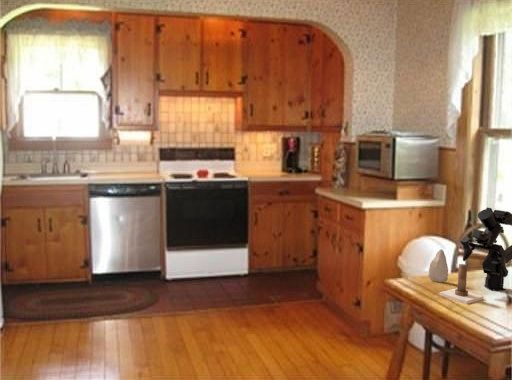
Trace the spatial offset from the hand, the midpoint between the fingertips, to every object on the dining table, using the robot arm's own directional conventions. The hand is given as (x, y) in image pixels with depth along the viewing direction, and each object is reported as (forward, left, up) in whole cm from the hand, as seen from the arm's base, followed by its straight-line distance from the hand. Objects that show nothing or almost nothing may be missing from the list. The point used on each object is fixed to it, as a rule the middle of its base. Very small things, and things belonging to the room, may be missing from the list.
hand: (472, 263), depth 225 cm
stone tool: (+7, -19, -14) cm, 25 cm away
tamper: (+6, +3, -12) cm, 14 cm away
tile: (+6, +3, -14) cm, 15 cm away
